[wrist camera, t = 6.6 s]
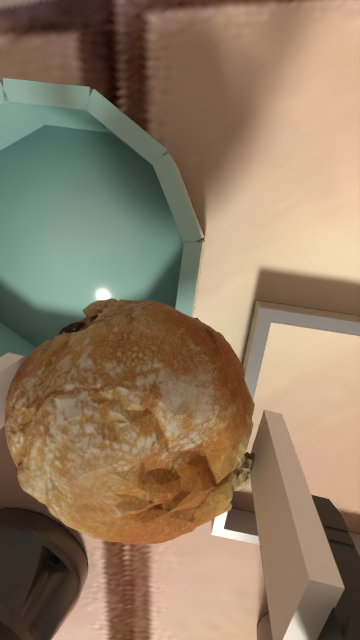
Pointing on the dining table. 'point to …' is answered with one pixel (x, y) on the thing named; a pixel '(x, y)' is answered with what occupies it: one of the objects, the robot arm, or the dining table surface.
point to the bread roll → (131, 423)
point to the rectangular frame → (239, 521)
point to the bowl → (85, 213)
